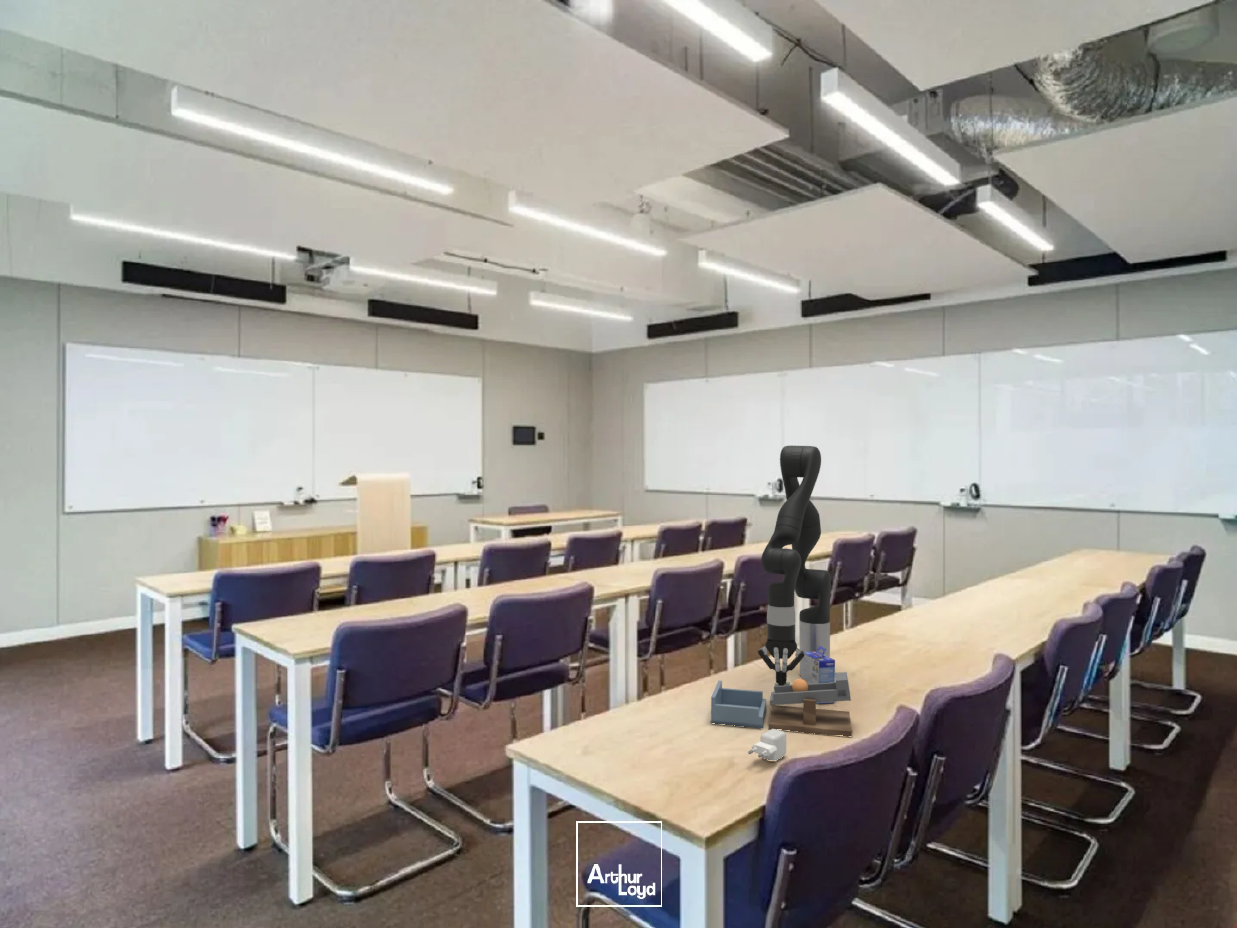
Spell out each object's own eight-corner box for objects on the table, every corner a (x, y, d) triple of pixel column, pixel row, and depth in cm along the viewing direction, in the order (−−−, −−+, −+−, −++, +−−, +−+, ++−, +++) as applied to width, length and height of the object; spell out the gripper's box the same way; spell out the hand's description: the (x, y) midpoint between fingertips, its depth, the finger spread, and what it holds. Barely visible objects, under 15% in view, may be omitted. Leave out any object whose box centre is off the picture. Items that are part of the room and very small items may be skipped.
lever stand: (772, 710, 195) (771, 682, 195) (849, 717, 190) (849, 688, 190) (768, 729, 182) (768, 699, 182) (851, 737, 176) (851, 706, 176)
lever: (774, 690, 199) (770, 668, 199) (849, 686, 194) (845, 663, 194) (770, 709, 185) (767, 685, 185) (851, 705, 179) (847, 680, 179)
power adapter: (763, 772, 157) (763, 746, 157) (744, 766, 161) (744, 740, 161) (789, 756, 166) (789, 731, 165) (770, 750, 169) (770, 726, 169)
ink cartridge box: (836, 703, 200) (836, 651, 200) (818, 705, 199) (818, 653, 199) (817, 691, 210) (817, 642, 210) (800, 693, 209) (800, 643, 208)
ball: (804, 674, 188) (810, 688, 188) (789, 679, 189) (796, 694, 189) (803, 679, 184) (810, 693, 184) (789, 684, 185) (795, 699, 185)
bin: (718, 705, 199) (718, 680, 199) (766, 709, 196) (766, 684, 195) (711, 724, 186) (711, 697, 185) (762, 728, 182) (762, 701, 182)
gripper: (806, 619, 198) (806, 682, 198) (757, 617, 201) (757, 678, 202) (806, 626, 191) (805, 691, 191) (755, 623, 194) (755, 686, 194)
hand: (781, 684), depth 196 cm, fingers closed
